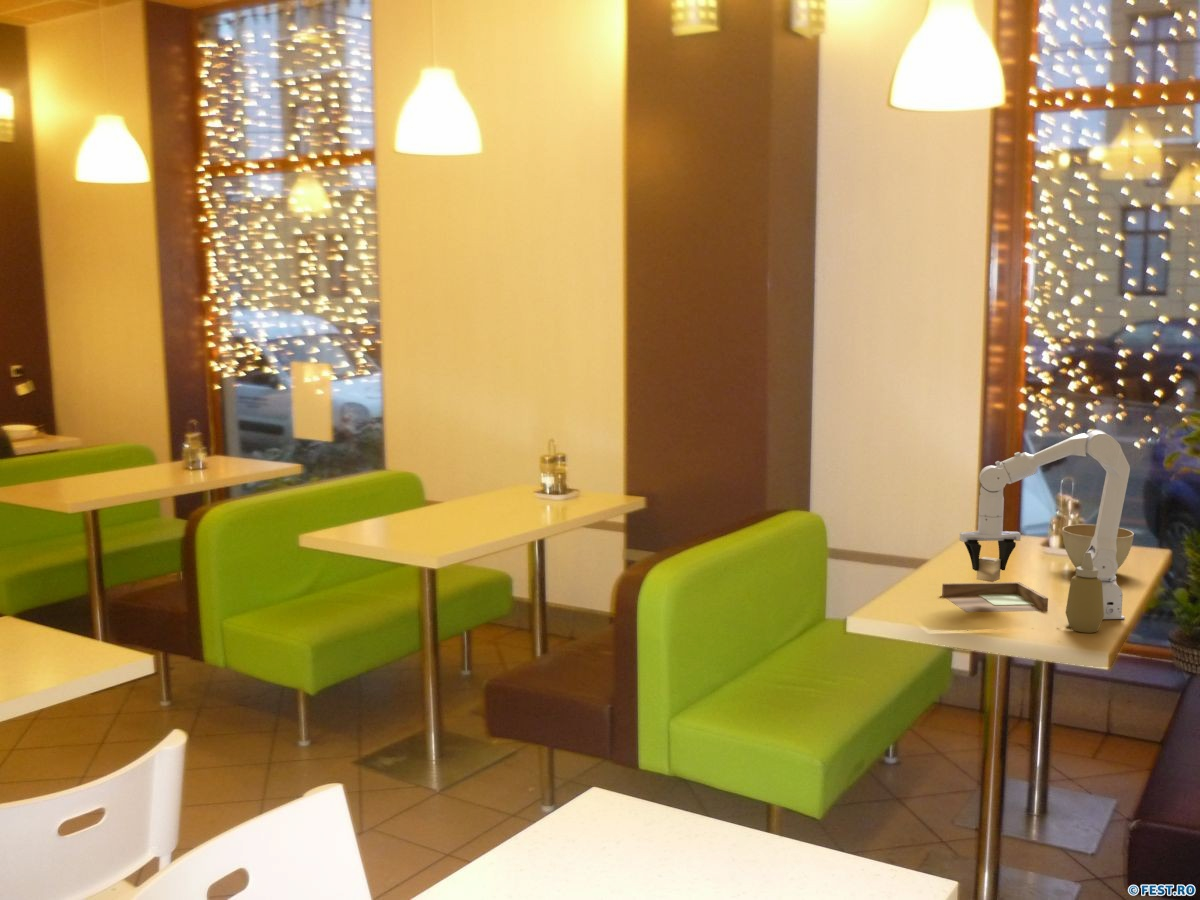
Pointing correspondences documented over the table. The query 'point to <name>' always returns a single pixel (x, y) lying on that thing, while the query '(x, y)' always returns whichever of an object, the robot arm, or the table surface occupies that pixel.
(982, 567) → the block
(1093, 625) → the squeeze bottle
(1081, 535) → the beige bowl
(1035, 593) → the arena
